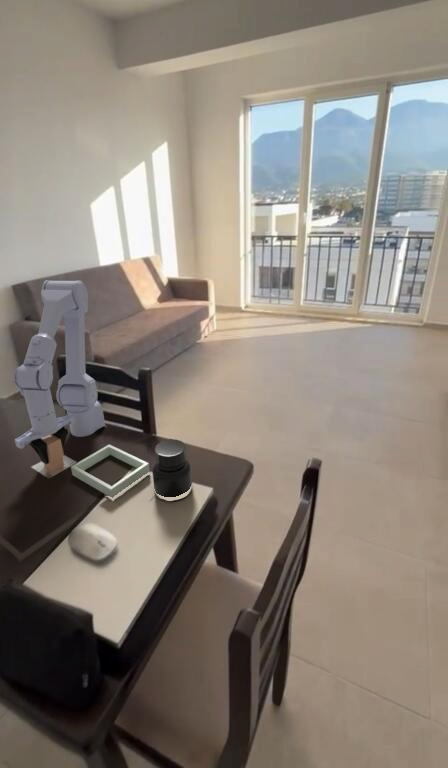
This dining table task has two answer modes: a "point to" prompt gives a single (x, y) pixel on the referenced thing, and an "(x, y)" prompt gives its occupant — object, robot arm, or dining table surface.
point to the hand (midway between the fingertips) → (52, 458)
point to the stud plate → (51, 473)
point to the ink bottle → (171, 469)
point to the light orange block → (54, 451)
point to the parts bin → (102, 486)
